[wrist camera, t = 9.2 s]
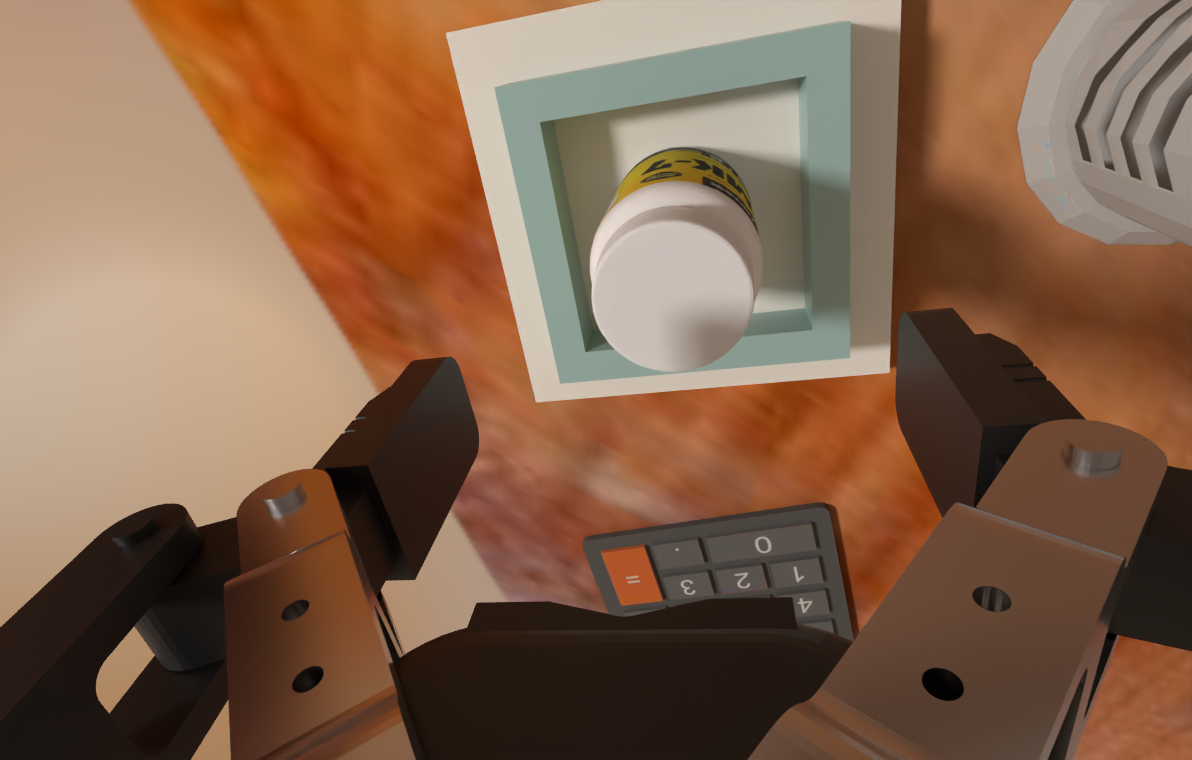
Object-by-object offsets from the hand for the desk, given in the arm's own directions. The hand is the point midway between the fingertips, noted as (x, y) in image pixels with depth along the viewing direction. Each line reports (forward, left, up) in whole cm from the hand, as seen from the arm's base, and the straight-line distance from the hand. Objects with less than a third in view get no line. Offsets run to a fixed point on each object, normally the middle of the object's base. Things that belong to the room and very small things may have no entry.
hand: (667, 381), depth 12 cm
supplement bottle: (0, 0, -13) cm, 13 cm away
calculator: (+22, 0, -14) cm, 26 cm away
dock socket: (0, 0, -14) cm, 14 cm away
